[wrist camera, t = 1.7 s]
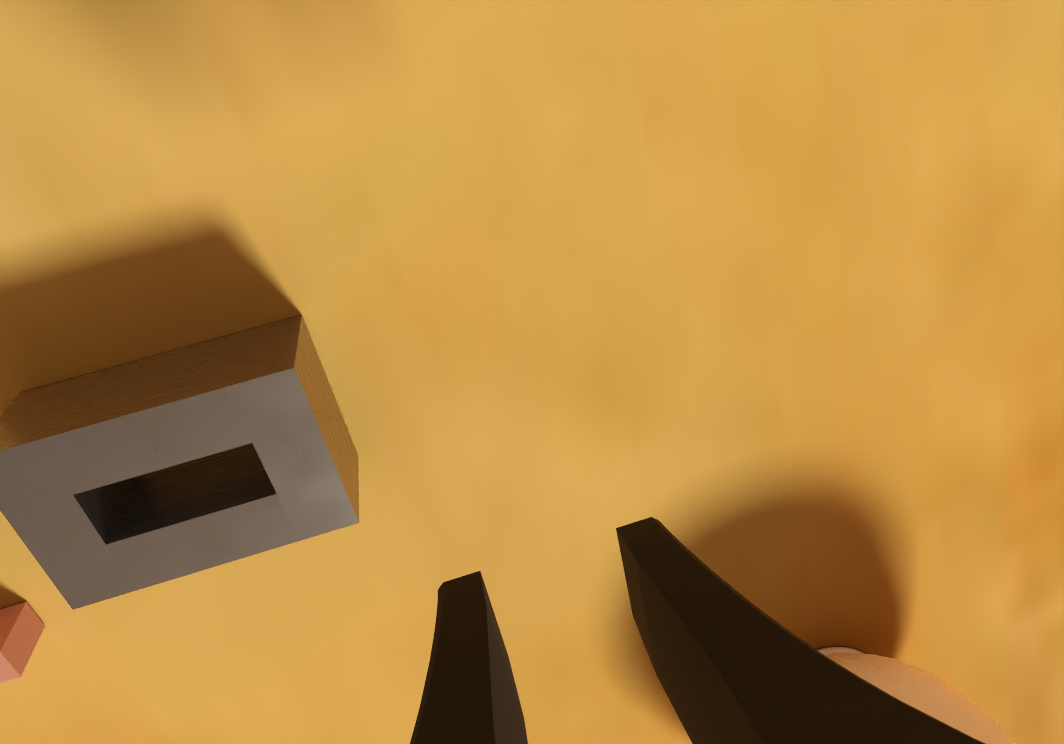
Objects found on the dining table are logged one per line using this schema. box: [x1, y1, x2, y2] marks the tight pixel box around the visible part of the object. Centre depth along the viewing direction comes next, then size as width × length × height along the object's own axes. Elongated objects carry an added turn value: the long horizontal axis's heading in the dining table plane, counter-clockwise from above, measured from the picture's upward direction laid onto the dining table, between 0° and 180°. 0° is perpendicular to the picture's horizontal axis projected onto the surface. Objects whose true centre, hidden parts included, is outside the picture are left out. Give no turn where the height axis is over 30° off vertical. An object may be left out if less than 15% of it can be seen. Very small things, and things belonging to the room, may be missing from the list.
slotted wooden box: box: [0, 315, 359, 609], centre depth 18 cm, size 7×4×3 cm, turn 102°
